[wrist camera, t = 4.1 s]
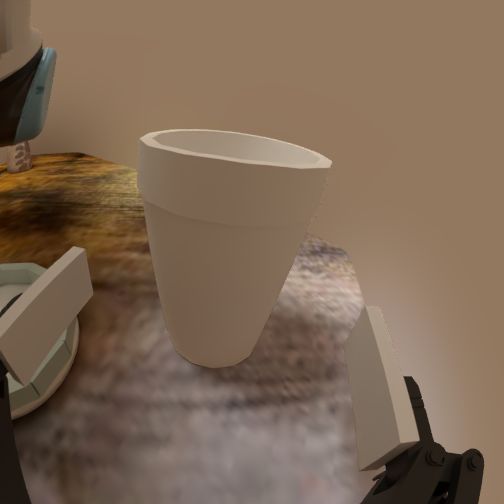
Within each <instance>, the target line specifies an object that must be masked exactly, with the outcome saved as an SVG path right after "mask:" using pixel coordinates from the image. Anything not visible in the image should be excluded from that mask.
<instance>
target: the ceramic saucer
mask: <svg viewBox="0 0 504 504" xmlns="http://www.w3.org/2000/svg"><path fill="white" fill-rule="evenodd" d="M47 270H48V269H45V268H43V267H41V266H39V265H37V264H34V263H9V264H1V265H0V312H1V310H2V309H3V308H4V307H6V305H7V304H8V302H9V301H10V300H11V299H12V298H14V297H15V296H17V295H19V294H20V293H24V292H25V291H26V290H27V289H28V288H29V287H30V286H31V285H32V284H33V283H34V282H35V281H36V280H37V279H38V278H39V277H40V276H41V275H42V274H43V273H44V272H46V271H47ZM79 332H80V331H79V322H78V318H77V315H76V317H75V318H74V319H73V321H72V322H71V323H70V324H69V326H68V327H67V328H66V330H65V331H64V332H63V334H62V335H61V337H60V338H59V339H58V341H57V342H56V343H55V345H54V346H53V348H52V349H51V350H50V352H49V353H48V355H47V356H46V358H45V359H44V361H43V362H42V363H41V365H40V366H39V368H38V369H37V371H36V372H35V374H34V375H33V377H32V379H31V380H30V382H29V383H28V385H27V386H26V388H25V387H24V386H22V385H21V384H19V383H18V382H16V381H15V380H14V379H13V378H12V376H11V375H10V373H9V372H8V373H7V374H6V376H7V378H8V386H9V400H10V410H11V419H12V420H14V419H16V418H19V417H22V416H24V415H26V414H28V413H30V412H31V411H33V410H35V409H36V408H38V407H39V406H40V405H42V404H43V403H44V402H45V401H46V400H47V399H48V398H50V397H51V396H52V395H53V394H54V393H55V391H56V390H57V389H58V388H59V386H60V385H61V384H62V382H63V381H64V379H65V378H66V376H67V374H68V373H69V371H70V369H71V366H72V364H73V362H74V359H75V356H76V353H77V349H78V344H79Z"/></svg>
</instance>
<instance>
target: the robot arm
mask: <svg viewBox="0 0 504 504" xmlns="http://www.w3.org/2000/svg"><path fill="white" fill-rule="evenodd" d="M30 8H31V0H0V147H5V146H10V145H16V144H17V143H20V142H24V141H28V140H31V139H34V138H35V137H37V136H38V135H39V134H40V132H41V131H42V129H43V127H44V123H45V119H46V115H47V110H48V104H49V99H50V93H51V88H52V82H53V77H54V71H55V64H56V50H55V49H52V48H45V49H43V50H42V34H41V32H40V31H38V30H37V29H35V28H33V27H30ZM92 295H93V289H92V284H91V279H90V274H89V268H88V263H87V257H86V250H85V249H83V248H79V247H75V246H73V247H72V248H71V249H70V250H69V251H68V252H66V253H65V254H64V255H63V256H62V257H61V258H60V259H59V260H57V261H56V262H55V263H54V264H53V265H52V266H51V267H50V268H49V269H48V270H47V271H46V272H44V273H43V274H42V275H41V276H40V277H39V278H38V279H37V280H36V281H35V282H34V283H33V284H32V285H31V286H30V287H29V288H28V289H27V290H26V291H25V292H24V293H20V294H19V295H17V296H15V297H14V298H12V299H11V300H10V301H9V302H8V304H7V305H6V307H4V308H3V309H2V310H1V312H0V504H31V501H30V498H29V495H28V492H27V489H26V485H25V482H24V478H23V475H22V471H21V467H20V463H19V459H18V454H17V449H16V444H15V439H14V433H13V426H12V419H11V410H10V400H9V386H8V378H7V376H6V374H7V373H8V372H9V373H10V375H11V376H12V378H13V379H14V380H15V381H16V382H18V383H19V384H21V385H22V386H24V387H25V388H26V386H27V385H28V383H29V382H30V380H31V379H32V377H33V375H34V374H35V372H36V371H37V369H38V368H39V366H40V365H41V363H42V362H43V361H44V359H45V358H46V356H47V355H48V353H49V352H50V350H51V349H52V348H53V346H54V345H55V343H56V342H57V341H58V339H59V338H60V337H61V335H62V334H63V332H64V331H65V330H66V328H67V327H68V326H69V324H70V323H71V322H72V321H73V319H74V318H75V317H76V315H77V314H78V313H79V312H80V310H81V309H82V308H83V306H84V305H85V304H86V303H87V301H88V300H89V299H90V298H91V297H92ZM343 347H344V352H345V358H346V364H347V371H348V377H349V384H350V391H351V398H352V405H353V413H354V421H355V430H356V440H357V450H358V462H359V471H367V470H377V469H378V468H380V467H382V466H383V465H385V466H386V471H384V472H382V473H381V474H379V475H377V476H375V477H374V478H373V479H372V480H373V481H375V480H377V479H378V481H377V482H376V484H375V485H374V486H373V488H372V489H371V490H370V492H369V493H368V494H367V496H366V497H365V498H364V500H363V501H362V502H361V503H360V504H478V501H479V496H480V490H481V484H482V477H483V470H484V459H483V456H482V454H481V453H480V451H478V450H477V449H469V450H467V451H466V452H464V453H463V454H455V453H448V452H446V451H445V449H444V448H443V447H442V446H441V445H440V444H438V443H436V442H434V440H433V437H432V433H431V429H430V425H429V421H428V417H427V414H426V410H425V408H424V403H423V400H422V399H421V398H422V396H421V393H420V390H419V387H418V385H417V383H416V382H415V381H414V379H413V378H412V377H407V376H405V377H404V376H403V374H402V370H401V367H400V364H399V361H398V358H397V355H396V352H395V348H394V345H393V343H392V340H391V337H390V334H389V331H388V328H387V325H386V323H385V320H384V317H383V314H382V312H381V309H380V307H376V306H370V305H365V306H364V308H363V310H362V312H361V314H360V316H359V318H358V320H357V322H356V324H355V326H354V328H353V330H352V332H351V333H350V335H349V337H348V339H347V341H346V343H345V345H344V346H343ZM447 492H448V494H447ZM446 496H447V497H446Z"/></svg>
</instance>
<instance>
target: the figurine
mask: <svg viewBox="0 0 504 504" xmlns="http://www.w3.org/2000/svg"><path fill="white" fill-rule="evenodd" d="M31 168H32V157H31V153H30V148H29V143H28V141H24V142H20V143H17V144H16V145H10V146H9V149H8V155H7V169H8V173H10V174H15V173H20V172H23V171H27V170H29V169H31Z"/></svg>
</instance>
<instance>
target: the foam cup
mask: <svg viewBox="0 0 504 504" xmlns="http://www.w3.org/2000/svg"><path fill="white" fill-rule="evenodd" d="M331 165H332V161H331V160H329V159H327V158H326V157H324V156H323V155H321V154H319V153H317V152H314V151H312V150H309V149H306V148H303V147H300V146H298V145H294V144H291V143H287V142H283V141H279V140H275V139H270V138H267V137H261V136H255V135H250V134H243V133H237V132H228V131H216V130H200V129H198V130H197V129H195V130H193V129H192V130H191V129H190V130H167V131H159V132H152V133H149V134H147V135H145V136H143V137H141V138H139V150H138V174H137V186H138V188H139V190H140V191H141V193H142V197H143V205H144V212H145V220H146V226H147V233H148V239H149V245H150V251H151V257H152V262H153V268H154V273H155V278H156V283H157V288H158V292H159V297H160V302H161V306H162V310H163V315H164V319H165V323H166V327H167V331H168V333H169V338H170V340H171V342H172V344H173V346H174V348H175V350H176V352H177V353H179V354H180V355H181V356H183V357H184V358H186V359H187V360H188V361H190V362H191V363H193V364H197V365H201V366H205V367H209V368H221V367H228V366H235V365H236V364H238V363H240V362H241V361H243V360H244V359H246V358H247V357H249V356H250V355H251V353H252V351H253V349H254V347H255V345H256V343H257V341H258V339H259V337H260V335H261V333H262V331H263V329H264V327H265V324H266V322H267V320H268V318H269V316H270V314H271V311H272V309H273V307H274V305H275V303H276V300H277V298H278V296H279V294H280V292H281V289H282V287H283V285H284V283H285V280H286V278H287V276H288V274H289V271H290V269H291V267H292V264H293V262H294V260H295V258H296V255H297V253H298V251H299V248H300V246H301V244H302V241H303V239H304V236H305V234H306V232H307V229H308V227H309V224H310V222H311V219H314V218H316V217H317V215H318V213H319V210H320V207H321V205H322V201H323V197H324V193H325V189H326V186H327V182H328V177H329V173H330V170H331Z"/></svg>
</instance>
